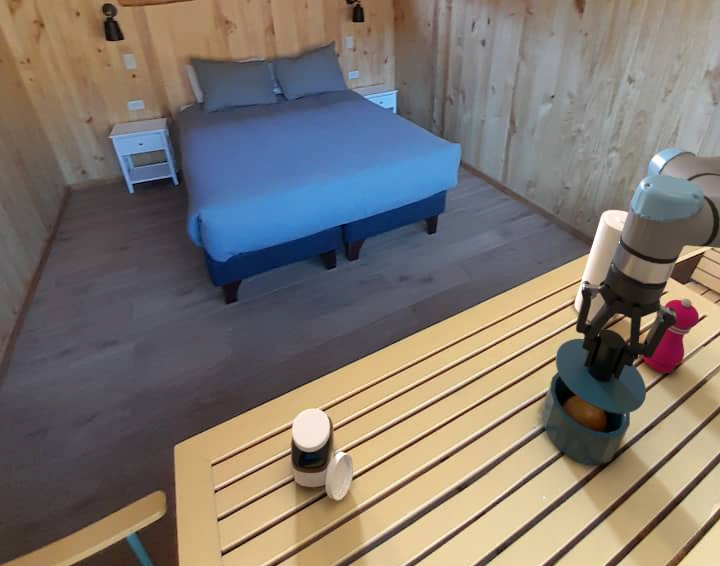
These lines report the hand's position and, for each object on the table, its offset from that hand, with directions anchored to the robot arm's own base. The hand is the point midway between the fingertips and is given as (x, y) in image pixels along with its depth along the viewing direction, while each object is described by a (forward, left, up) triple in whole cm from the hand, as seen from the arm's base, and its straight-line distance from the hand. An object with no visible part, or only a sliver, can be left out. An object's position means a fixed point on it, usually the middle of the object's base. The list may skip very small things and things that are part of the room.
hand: (601, 366), depth 73 cm
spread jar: (+41, +32, -19) cm, 55 cm away
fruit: (0, 0, -19) cm, 19 cm away
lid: (0, 0, -2) cm, 2 cm away
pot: (0, 0, -19) cm, 19 cm away
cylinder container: (-1, -36, -19) cm, 41 cm away
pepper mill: (-15, -26, -19) cm, 36 cm away
